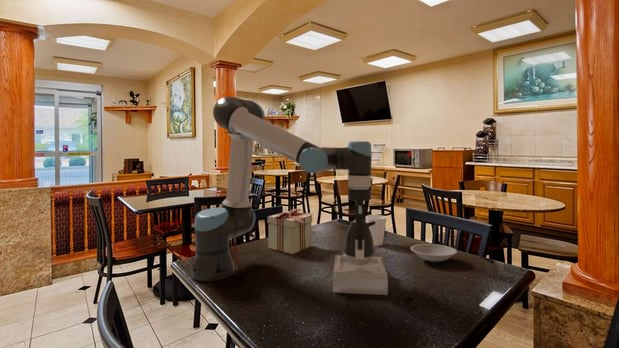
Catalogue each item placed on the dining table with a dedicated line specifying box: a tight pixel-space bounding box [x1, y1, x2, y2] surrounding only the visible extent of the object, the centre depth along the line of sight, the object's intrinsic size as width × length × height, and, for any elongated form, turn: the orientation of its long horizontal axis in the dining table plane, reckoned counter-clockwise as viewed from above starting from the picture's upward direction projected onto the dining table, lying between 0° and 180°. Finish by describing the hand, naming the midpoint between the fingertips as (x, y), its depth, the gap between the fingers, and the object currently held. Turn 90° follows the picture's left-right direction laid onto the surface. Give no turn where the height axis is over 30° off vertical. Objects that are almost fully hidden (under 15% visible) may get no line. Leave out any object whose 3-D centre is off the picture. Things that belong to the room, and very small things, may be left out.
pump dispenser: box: [343, 218, 375, 265], centre depth 106 cm, size 10×10×15 cm
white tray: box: [332, 252, 389, 296], centre depth 110 cm, size 17×23×8 cm
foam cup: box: [365, 214, 387, 247], centre depth 150 cm, size 10×9×13 cm
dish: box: [410, 243, 458, 263], centre depth 126 cm, size 18×14×5 cm
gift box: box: [266, 208, 313, 255], centre depth 145 cm, size 17×18×17 cm
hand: (359, 253), depth 107 cm, fingers closed on pump dispenser, 10 cm apart
